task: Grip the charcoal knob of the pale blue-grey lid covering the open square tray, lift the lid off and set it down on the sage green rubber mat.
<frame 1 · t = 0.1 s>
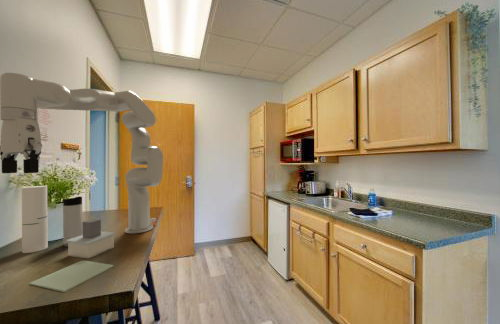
hand: (20, 173, 62), 31 cm above the table, tool pointing down, fingers open, 9 cm apart
travel mug: (73, 244, 88), on the table
cylindrical container: (35, 249, 83), on the table
lid: (91, 238, 79), point 5 cm above the table, touching open square tray
mat: (74, 274, 63), on the table
open square tray: (92, 251, 79), on the table
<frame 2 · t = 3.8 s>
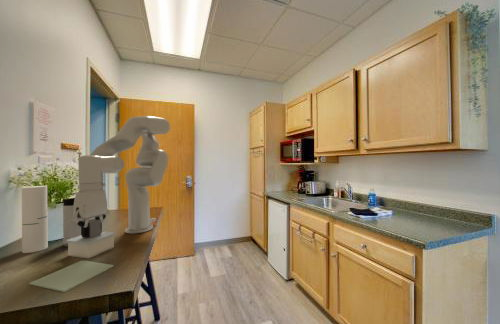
hand: (91, 234, 79), 6 cm above the table, tool pointing down, fingers closed on lid, 4 cm apart
lid: (91, 238, 79), point 5 cm above the table, touching open square tray, gripper
everything else where it was.
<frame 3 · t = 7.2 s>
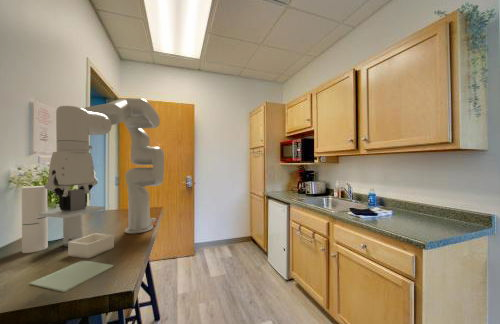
hand: (73, 207, 63), 20 cm above the table, tool pointing down, fingers closed on lid, 4 cm apart
lid: (73, 212, 63), point 19 cm above the table, touching gripper
everything else where it was.
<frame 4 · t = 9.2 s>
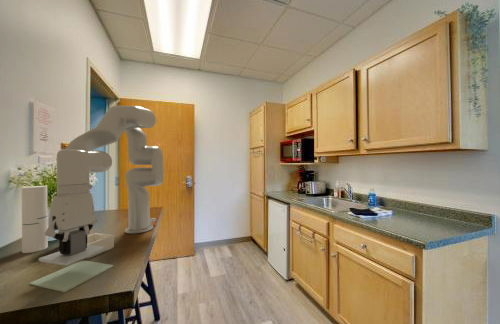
hand: (73, 250, 62), 7 cm above the table, tool pointing down, fingers closed on lid, 4 cm apart
lid: (73, 255, 62), point 6 cm above the table, touching gripper
everything else where it was.
when the fingers open (4 cm above the table, at t = 10.8 s): lid drops 2 cm, resting on mat.
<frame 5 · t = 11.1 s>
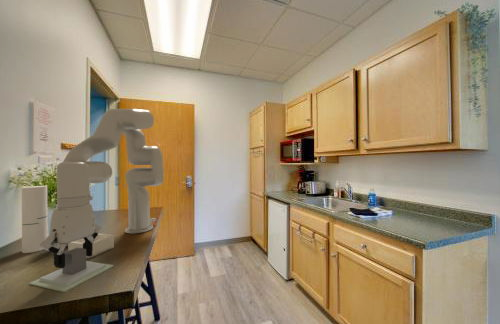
hand: (74, 260, 63), 4 cm above the table, tool pointing down, fingers open, 7 cm apart
lid: (74, 273, 63), resting on mat
everything else where it was.
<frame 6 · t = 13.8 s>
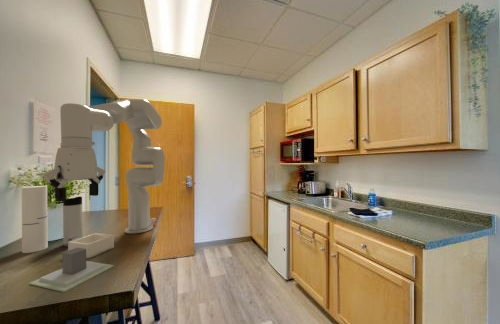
hand: (78, 198, 66), 23 cm above the table, tool pointing down, fingers open, 9 cm apart
nothing on the table moved.
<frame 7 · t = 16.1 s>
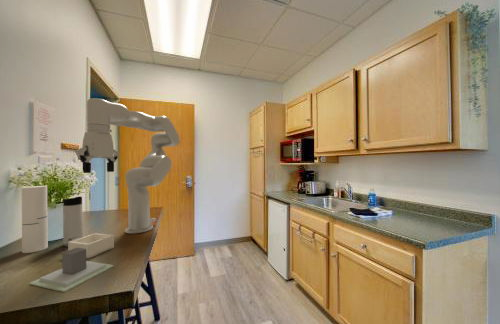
hand: (99, 172, 84), 30 cm above the table, tool pointing down, fingers open, 9 cm apart
nothing on the table moved.
at the end: lid inside the target area on the mat (0.1 cm from its centre), point 0.4 cm above the mat's base; lid touching mat; the gripper is holding nothing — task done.
